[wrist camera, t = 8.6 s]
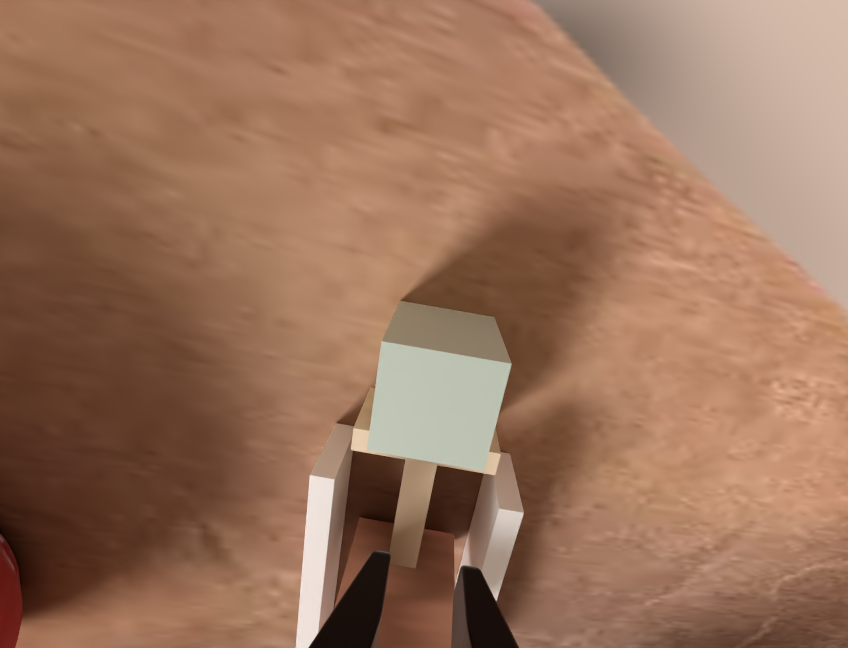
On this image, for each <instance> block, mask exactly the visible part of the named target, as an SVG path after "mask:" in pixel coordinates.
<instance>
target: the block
mask: <svg viewBox="0 0 848 648" xmlns="http://www.w3.org/2000/svg"><path fill="white" fill-rule="evenodd" d="M511 365H512V363H511V361H510V358H509V355H508V352H507V350H506V347H505V344H504V342H503V339H502V336H501V333H500V331H499V328H498V325H497V323H496V320H495V317H492V316H486V315H480V314H474V313H469V312H463V311H457V310H451V309H445V308H440V307H434V306H428V305H422V304H417V303H411V302H405V301H400V302H399V304H398V307H397V309H396V311H395V313H394V315H393V317H392V320H391V322H390V324H389V326H388V328H387V331H386V333H385V335H384V337H383V339H382V342H381V349H380V357H379V364H378V371H377V379H376V386H375V393H374V401H373V408H372V415H371V423H370V430H369V437H368V445H367V451H372V452H378V453H383V454H389V455H395V456H400V457H406V458H412V459H417V460H423V461H429V462H435V463H440V464H446V465H452V466H457V467H463V468H469V469H474V470H480V471H484V470H485V466H486V462H487V458H488V454H489V450H490V446H491V442H492V438H493V435H494V431H495V427H496V423H497V419H498V415H499V411H500V407H501V403H502V400H503V396H504V392H505V388H506V384H507V380H508V376H509V372H510V368H511Z"/></svg>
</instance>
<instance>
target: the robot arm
mask: <svg viewBox="0 0 848 648" xmlns="http://www.w3.org/2000/svg"><path fill="white" fill-rule="evenodd" d="M390 561H391V554H390V553H389V552H385V551H380V550H374V551H373V552H372V553H371V554H370V556H369V557H368V559H367V560H366V562H365V563H364V565H363V566H362V568H361V569H360V571H359V572H358V574H357V575H356V577H355V578H354V580H353V581H352V583H351V584H350V586H349V587H348V589H347V590H346V592H345V593H344V595H343V596H342V598H341V599H340V601H339V602H338V604H337V605H336V607H335V608H334V610H333V611H332V613H331V614H330V616H329V617H328V619H327V620H326V622H325V623H324V625H323V626H322V628H321V629H320V631H319V632H318V634H317V635H316V637H315V638H314V640H313V641H312V643H311V644H310V646H309V647H308V648H376V646H377V641H378V635H379V629H380V623H381V618H382V612H383V606H384V601H385V594H386V587H387V581H388V574H389V568H390ZM451 648H519V647H518V645H517V643H516V641H515V639H514V636H513V634H512V632H511V630H510V628H509V626H508V624H507V622H506V620H505V618H504V616H503V614H502V612H501V610H500V608H499V606H498V604H497V602H496V600H495V598H494V596H493V594H492V592H491V590H490V588H489V586H488V584H487V582H486V580H485V578H484V575H483V573H482V572H481V570H480V569H479V568H477V567H473V566H467V565H463V566H461V568H460V571H459V575H458V579H457V583H456V586H455V591H454V597H453V614H452V637H451Z"/></svg>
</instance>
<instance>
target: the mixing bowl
mask: <svg viewBox="0 0 848 648" xmlns="http://www.w3.org/2000/svg"><path fill="white" fill-rule="evenodd" d="M19 581H20V577H19V569H18V565H17V562H16V559H15V557H14V554H13V552H12V550H11V548H10V546H9V545H8V543H7V542H6V540H5V539H4V537H3V536H2V535H1V534H0V648H15V646H16V643H17V639H18V635H19V630H20V625H21V620H22V595H21V587H20V582H19Z"/></svg>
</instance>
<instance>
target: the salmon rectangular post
mask: <svg viewBox="0 0 848 648" xmlns="http://www.w3.org/2000/svg"><path fill="white" fill-rule="evenodd" d="M374 393H375V388H374V387H370V389H369V391H368V394H367V396H366V398H365V401H364V403H363V406H362V408H361V411H360V413H359V416H358V418H357V420H356V423H355V425H354V428H353V436H352V444H351V450H354V451H360V452H365V453H371V454H377V455H382V456H388V457H394V458H399V459H405V465H404V471H403V476H402V482H401V488H400V493H399V499H398V505H397V510H396V516H395V522H394V523H389V522H383V521H377V520H372V519H366V518H360V517H359V521H358V524H357V528H356V532H355V535H354V539H353V542H352V546H351V550H350V553H349V557H348V561H347V564H346V568H345V571H344V575H343V579H342V582H341V586H340V589H339V593H338V597H337V600H336V604H335V607H336V605H337V604H338V602H339V601H340V599H341V598H342V596H343V595H344V593H345V592H346V590H347V589H348V587H349V586H350V584H351V583H352V581H353V580H354V578H355V577H356V575H357V574H358V572H359V571H360V569H361V568H362V566H363V565H364V563H365V562H366V560H367V559H368V557H369V556H370V554H371V553H372V552H373V551H374V550H380V551H385V552H389V553H390V554H391V561H390V568H389V574H388V581H387V587H386V594H385V601H384V606H383V612H382V618H381V623H380V629H379V635H378V641H377V646H376V648H451V637H452V614H453V597H454V591H455V587H454V534H451V533H445V532H439V531H434V530H428V529H424V526H425V521H426V516H427V511H428V507H429V502H430V497H431V492H432V487H433V483H434V478H435V473H436V468H437V465H439V466H445V467H450V468H456V469H462V470H467V471H473V472H479V473H484V474H490V475H495V474H496V471H497V467H498V463H499V459H500V456H501V452H500V447H499V442H498V437H497V432H496V427H495V431H494V435H493V438H492V442H491V446H490V450H489V454H488V458H487V462H486V466H485V470H484V471H480V470H474V469H469V468H463V467H457V466H452V465H446V464H440V463H435V462H429V461H423V460H417V459H412V458H406V457H400V456H395V455H389V454H383V453H378V452H372V451H367V445H368V437H369V430H370V423H371V415H372V408H373V401H374ZM335 607H334V608H335Z"/></svg>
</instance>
